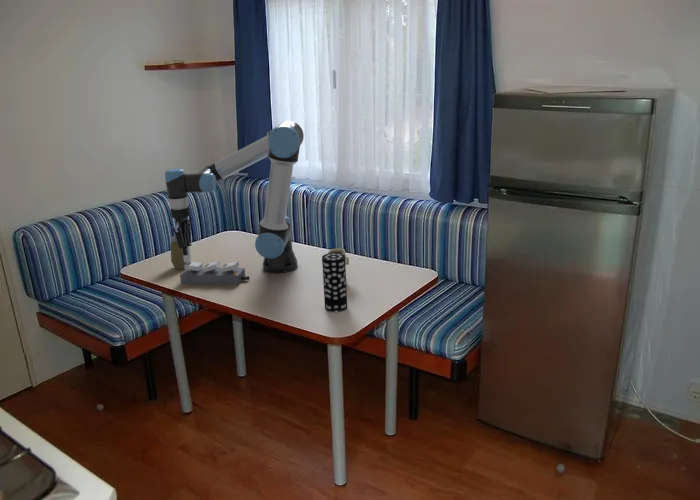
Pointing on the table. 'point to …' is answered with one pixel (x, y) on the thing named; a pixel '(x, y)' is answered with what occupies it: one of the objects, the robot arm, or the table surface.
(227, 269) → the plate
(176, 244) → the squeeze bottle
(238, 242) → the table surface
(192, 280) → the switch strip
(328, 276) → the spotted tube
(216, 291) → the table surface
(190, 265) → the plate
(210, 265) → the block
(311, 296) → the table surface
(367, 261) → the table surface
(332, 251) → the character mug
